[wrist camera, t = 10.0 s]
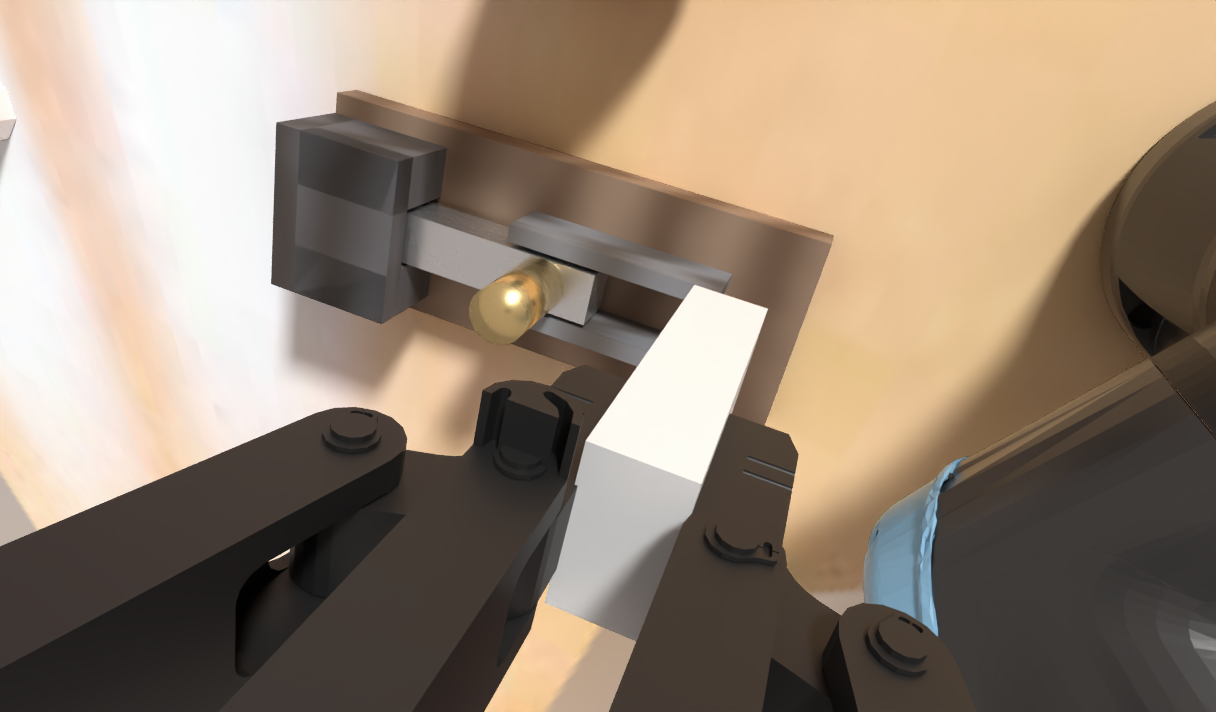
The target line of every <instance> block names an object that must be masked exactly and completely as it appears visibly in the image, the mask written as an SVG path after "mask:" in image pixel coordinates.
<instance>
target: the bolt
mask: <svg viewBox="0 0 1216 712" xmlns="http://www.w3.org/2000/svg"><path fill="white" fill-rule="evenodd" d="M508 232H509V227H506V226H503V225H500V224H497V223H494V222H491V221H488V220H485V219H482V218H479V217H476V216H473V215H470V214H467V213H464V212H461V211H457V210H454V209H451V208H448V207H445V206H442V205H439V204H436V203H433V202H430V201H429V202H427V203H424V204H422V205H419V206H417V207H414V208H411V209H409V210H407V218H406V227H405V236H404V245H403V253H402V263H405V264H408V265H411V266H414V267H416V268H419V269H422V270H425V271H428V272H431V273H434V274H437V275H440V276H442V277H445V278H448V279H451V280H454V281H457V282H460V283H463V284H466V285H468V286H471V287H474V288H477V289H480V291H478V292H477V293H476V294H475V295H474V296H473V298H472V300H471V302H470V305H469V317H470V321H471V324H472V326H473V328H474V329H475V331H476V332H477V333H478V334H479V335H480V336H481V337H482V338H483V339H485V340H486V341H488V342H490V343H493V344H497V345H507V344H510V343H512V342H514V341H516V340H517V339H518V338H519V337H520V336H521V335H523V334H524V333H525V332H526V331H527V330H528V329H529V328H531V327H532V326H533V325H534V324H535V323H536V322H537V321H539V320H540V319H541V318H542V317H543V316H544V315H545V314H546V313H549V314H552V315H555V316H558V317H561V318H564V319H567V320H569V321H572V322H575V323H578V324H581V325H584V324H585V323H586V322H587V321H588V320H589V319H590V318H591V317H592V316H593V315H594V314H595V313H596V312H597V311H598V310H599V309H600V307H601V303H602V299H603V294H604V290H605V286H606V282H607V278H608V274H605V273H602V272H599V271H596V270H593V269H590V268H587V267H583V266H580V265H577V264H574V263H571V262H568V261H565V260H562V259H559V258H556V257H553V256H550V255H547V254H544V253H541V252H538V251H535V250H532V249H529V248H526V247H523V246H520V245H517V244H514V243H511V242H508V241H507V237H508Z"/></svg>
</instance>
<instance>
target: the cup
mask: <svg viewBox="0 0 1216 712" xmlns="http://www.w3.org/2000/svg"><path fill="white" fill-rule="evenodd" d="M15 121H16V116H15V113H14V109H13V106H12V103H11V100H10V97H9V93H8V90H7V89H6V88H5V87H4V86H3V85H2V84H1V83H0V140H3V139H9V136H10V134H11V131H12V129H13V126H14V124H15Z"/></svg>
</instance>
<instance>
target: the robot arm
mask: <svg viewBox="0 0 1216 712" xmlns="http://www.w3.org/2000/svg"><path fill="white" fill-rule="evenodd" d="M1101 274H1102V281H1103V286H1104V290H1105V294H1106V297H1107V300H1108V303H1109V305H1110V307H1111V310H1112V312H1113V314H1114V315H1115V317H1116V319H1117V321H1118V322H1119V324H1120V325H1121V327H1122V328H1123V330H1124V331H1125V332H1126V333H1127V334H1128V336H1129V337H1130V338H1131V339H1132V341H1133V342H1134V343H1135V344H1136V345H1137V347H1138V348H1139V349H1140V350H1141V351H1142V352H1143V353H1144V354H1145V355H1146V356H1147V357H1148V358H1146V359H1145V360H1143V361H1141V362H1139V363H1137V364H1136V365H1134V366H1132V367H1130V368H1129V369H1127V370H1125V371H1123V372H1122V373H1120V374H1118V375H1116V376H1115V377H1113V378H1111V379H1109V380H1107V381H1106V382H1104V383H1102V384H1100V385H1099V386H1097V387H1095V388H1093V389H1092V390H1090V391H1088V392H1086V393H1085V394H1083V395H1081V396H1079V397H1077V398H1076V399H1074V400H1072V401H1070V402H1069V403H1067V404H1065V405H1063V406H1062V407H1060V408H1058V409H1056V410H1055V411H1053V412H1051V413H1049V414H1047V415H1046V416H1044V417H1042V418H1040V419H1039V420H1037V421H1035V422H1033V423H1031V424H1029V425H1027V426H1026V427H1024V428H1022V429H1020V430H1018V431H1016V432H1015V433H1013V434H1011V435H1009V436H1007V437H1005V438H1003V439H1002V440H1000V441H998V442H996V443H994V444H992V445H991V446H989V447H987V448H985V449H983V450H981V451H980V452H978V453H976V454H974V455H972V456H970V457H969V456H967V457H964V458H961V459H958V460H955V461H953V462H951V463H949V464H948V465H947V466H946V467H944V468H943V469H942V471H941V472H940V473H939V474H938V475H937V477H936V478H935V479H933V480H932V481H930V482H929V483H927V484H926V485H924V486H923V487H921V488H919V489H918V490H916V491H914V492H913V493H911V494H910V495H908V496H906V497H905V498H903V499H902V500H900V501H898V502H897V503H895V504H894V505H893V506H891V507H890V508H889V509H888V510H887V511H886V512H885V513H883V515H882V516H881V517H880V518H879V520H878V521H877V523H876V524H875V526H874V528H873V530H872V533H871V536H870V540H869V543H868V551H867V553H866V555H865V558H864V566H863V590H864V600H865V603H862V604H859V605H855V606H853V607H849V608H847V610H846V611H845V612H844V613H843V615H842V616H841V615H839V614H838V613H836V612H835V611H833V610H832V609H830V608H829V607H827V606H825V605H824V604H822V603H821V602H819V601H818V600H817V599H815V598H814V597H813V596H812V595H810V594H809V593H808V592H806V591H805V590H804V589H803V588H802V587H801V586H800V585H799V584H798V583H797V582H796V581H795V580H794V578H793V577H792V575H791V574H790V572H789V571H788V569H787V568H786V567H787V562H786V555H785V550H784V548H783V547H782V543H783V538H784V532H785V527H786V521H787V516H788V510H789V504H790V499H791V493H792V491H791V490H792V488H793V482H794V477H795V476H794V475H795V471H796V466H797V460H798V452H797V450H796V448H795V446H794V444H793V442H792V440H791V438H790V436H789V434H786V433H783V432H781V431H778V430H775V429H772V428H769V427H767V426H764V425H761V424H758V423H755V422H752V421H750V420H747V419H744V418H741V417H738V416H736V415H733V414H732V411H733V408H734V405H735V403H736V400H737V397H738V394H739V391H740V388H741V385H742V382H743V380H744V377H745V374H746V371H747V368H748V365H749V362H750V359H751V356H752V354H753V351H754V348H755V345H756V342H757V339H758V336H759V333H760V330H761V328H762V325H763V322H764V319H765V316H766V313H767V310H768V309H767V308H764V307H761V306H758V305H755V304H752V303H749V302H746V301H743V300H739V299H736V298H733V297H730V296H727V295H724V294H721V293H718V292H715V291H712V290H709V289H706V288H703V287H700V286H697V285H694V286H693V288H692V289H691V291H690V292H689V293H688V295H687V296H686V298H685V299H684V301H683V302H682V303H681V305H680V306H679V308H678V309H677V311H676V312H675V313H674V315H673V316H672V318H671V319H670V321H669V322H668V323H667V325H666V326H665V328H664V329H663V331H662V332H661V334H660V335H659V336H658V338H657V339H656V341H655V342H654V344H653V345H652V346H651V348H650V349H649V351H648V352H647V354H646V355H645V356H644V358H643V359H642V361H641V362H640V364H639V365H638V366H637V368H636V369H635V371H634V372H633V374H632V375H631V377H630V378H629V379H625V378H622V377H619V376H616V375H614V374H611V373H608V372H605V371H602V370H600V369H597V368H594V367H591V366H588V365H583V366H580V367H577V368H574V369H572V370H569V371H566V372H563V373H562V375H561V376H560V377H559V378H558V379H557V380H556V381H555V382H554V383H553V385H552V386H548V385H544V384H540V383H536V382H532V381H517V380H511V381H505V382H499V383H495V384H493V385H491V386H489V387H487V388H486V389H484V390H483V392H482V398H481V403H480V409H479V415H478V420H477V426H476V432H475V437H474V443H473V445H472V446H471V447H470V448H469V449H468V450H467V451H466V453H465V454H464V455H463V456H444V455H435V454H429V453H423V452H417V451H411V450H406V444H407V437H406V434H405V432H404V429H403V427H402V426H401V425H400V424H399V423H397V422H396V421H395V420H394V419H393V418H392V417H389V416H387V415H384V414H382V413H380V412H377V411H375V410H369V409H364V408H357V407H348V408H333V409H329V410H325V411H322V412H318V413H315V414H313V415H310V416H308V417H305V418H303V419H301V420H298V421H296V422H294V423H291V424H289V425H287V426H284V427H282V428H279V429H277V430H275V431H272V432H270V433H268V434H265V435H263V436H260V437H258V438H256V439H253V440H251V441H249V442H246V443H244V444H242V445H239V446H237V447H234V448H232V449H230V450H227V451H225V452H223V453H220V454H218V455H215V456H213V457H211V458H208V459H206V460H204V461H201V462H199V463H197V464H194V465H192V466H189V467H187V468H185V469H182V470H180V471H178V472H175V473H173V474H171V475H168V476H166V477H163V478H161V479H159V480H156V481H154V482H152V483H149V484H147V485H144V486H142V487H140V488H137V489H135V490H133V491H130V492H128V493H126V494H123V495H121V496H118V497H116V498H114V499H111V500H109V501H107V502H104V503H102V504H100V505H97V506H95V507H92V508H90V509H88V510H85V511H83V512H81V513H78V514H76V515H73V516H71V517H69V518H66V519H64V520H62V521H59V522H57V523H55V524H52V525H50V526H47V527H45V528H43V529H40V530H38V531H36V532H33V533H31V534H29V535H26V536H24V537H21V538H19V539H17V540H14V541H12V542H10V543H7V544H5V545H3V546H0V712H484V711H485V709H486V707H487V706H488V704H489V702H490V700H491V699H492V697H493V695H494V693H495V692H496V690H497V688H498V686H499V684H500V683H501V681H502V679H503V677H504V676H505V674H506V672H507V670H508V669H509V667H510V665H511V663H512V662H513V660H514V658H515V656H516V654H517V653H518V651H519V649H520V647H521V646H522V644H523V642H524V640H525V639H526V637H527V635H528V633H529V631H530V630H531V626H532V622H533V618H534V615H535V611H536V606H537V602H538V600H539V598H540V597H541V595H542V593H543V592H544V590H545V588H546V586H547V585H548V583H549V581H550V584H549V588H548V592H547V596H546V600H545V603H546V604H549V605H551V606H554V607H556V608H558V609H561V610H563V611H566V612H568V613H570V614H573V615H575V616H577V617H580V618H582V619H585V620H587V621H589V622H592V623H594V624H597V625H599V626H601V627H604V628H606V629H609V630H611V631H613V632H616V633H618V634H620V635H623V636H625V637H628V638H630V639H632V640H635V641H636V644H635V647H634V649H633V652H632V654H631V657H630V659H629V662H628V664H627V667H626V670H625V672H624V675H623V677H622V680H621V682H620V685H619V688H618V690H617V692H616V695H615V698H614V700H613V703H612V705H611V708H610V710H609V712H1216V437H1215V436H1216V101H1215V102H1214V103H1212V104H1210V105H1208V106H1206V107H1205V108H1203V109H1201V110H1200V111H1198V112H1196V113H1195V114H1193V115H1192V116H1191V117H1189V118H1188V119H1186V120H1185V121H1183V122H1182V123H1181V124H1179V125H1178V126H1177V127H1175V128H1174V129H1173V130H1172V131H1170V132H1169V133H1168V134H1167V135H1166V136H1165V137H1164V138H1162V139H1161V140H1160V141H1159V142H1158V143H1157V144H1156V145H1155V146H1154V147H1153V148H1152V149H1151V150H1150V151H1149V152H1148V153H1147V154H1146V156H1145V157H1144V158H1143V159H1142V160H1141V161H1140V163H1139V164H1138V165H1137V166H1136V168H1135V169H1134V170H1133V172H1132V173H1131V174H1130V176H1129V177H1128V179H1127V180H1126V182H1125V183H1124V185H1123V187H1122V189H1121V190H1120V192H1119V194H1118V196H1117V198H1116V200H1115V202H1114V204H1113V206H1112V209H1111V211H1110V214H1109V217H1108V220H1107V223H1106V226H1105V230H1104V235H1103V240H1102V247H1101ZM1154 364H1155V365H1156V366H1155V365H1154ZM1160 371H1161V372H1162V373H1163V374H1164V375H1165V376H1166V377H1167V378H1168V380H1169V381H1170V382H1171V383H1172V384H1173V385H1174V386H1175V388H1176V389H1177V390H1178V391H1179V392H1180V394H1181V395H1182V396H1183V397H1184V398H1185V400H1186V401H1187V402H1188V403H1189V404H1190V406H1191V407H1192V408H1193V409H1194V411H1195V412H1196V413H1197V414H1198V415H1199V417H1200V418H1201V419H1202V420H1203V421H1204V423H1205V424H1206V425H1207V426H1208V427H1209V429H1210V430H1211V431H1212V432H1213V434H1214V435H1215V436H1214V435H1213V434H1212V432H1211V431H1210V430H1209V429H1208V428H1207V426H1206V425H1205V424H1204V423H1203V422H1202V421H1201V419H1200V418H1199V417H1198V416H1197V415H1196V413H1195V412H1194V411H1193V410H1192V409H1191V407H1190V406H1189V405H1188V404H1187V403H1186V401H1185V400H1184V399H1183V398H1182V397H1181V395H1180V394H1179V393H1178V392H1177V391H1176V389H1175V388H1174V387H1173V386H1172V385H1171V383H1170V382H1169V381H1168V380H1167V379H1166V378H1165V376H1164V375H1163V374H1162V373H1161V372H1160ZM288 549H290V552H289V553H287V554H285V555H284V556H282V557H280V558H278V559H275V560H273V561H270V562H268V561H269V560H271V559H273V558H275V557H276V556H278V555H280V554H282V553H283V552H285V551H287V550H288Z"/></svg>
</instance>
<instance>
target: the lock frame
mask: <svg viewBox="0 0 1216 712" xmlns="http://www.w3.org/2000/svg"><path fill="white" fill-rule="evenodd" d="M429 201H430V202H433V203H436V204H439V205H442V206H445V207H448V208H451V209H454V210H457V211H461V212H464V213H467V214H470V215H473V216H476V217H479V218H482V219H485V220H488V221H491V222H494V223H497V224H500V225H503V226H506V227H509V232H508V237H507V241H508V242H511V243H514V244H517V245H520V246H523V247H526V248H529V249H532V250H535V251H538V252H541V253H544V254H547V255H550V256H553V257H556V258H559V259H562V260H565V261H568V262H571V263H574V264H577V265H580V266H583V267H587V268H590V269H593V270H596V271H599V272H602V273H605V274H608V278H607V282H606V286H605V290H604V294H603V299H602V303H601V307H600V309H599V310H598V311H597V312H596V313H595V314H594V315H593V316H592V317H591V318H590V319H589V320H588V321H587V322H586V323H585V324H584V325H581V324H578V323H575V322H572V321H569V320H567V319H564V318H561V317H558V316H555V315H552V314H549V313H546V314H545V315H544V316H543V317H542V318H541V319H540V320H539V321H537V322H536V323H535V324H534V325H533V326H532V327H531V328H529V329H528V330H527V331H526V332H525V333H524V334H523V335H521V336H520V337H519V338H518V339H517V340H516V341H514V342H512V343H511V344H514V345H516V346H519V347H522V348H525V349H528V350H530V351H533V352H536V353H539V354H542V355H544V356H547V357H550V358H553V359H556V360H558V361H561V362H564V363H567V364H570V365H572V366H575V367H580V366H583V365H588V366H591V367H594V368H597V369H600V370H602V371H605V372H608V373H611V374H614V375H616V376H619V377H622V378H625V379H629V378H630V377H631V375H632V374H633V372H634V371H635V369H636V368H637V366H638V365H639V364H640V362H641V361H642V359H643V358H644V356H645V355H646V354H647V352H648V351H649V349H650V348H651V346H652V345H653V344H654V342H655V341H656V339H657V338H658V336H659V335H660V334H661V332H662V331H663V329H664V328H665V326H666V325H667V323H668V322H669V321H670V319H671V318H672V316H673V315H674V313H675V312H676V311H677V309H678V308H679V306H680V305H681V303H682V302H683V301H684V299H685V298H686V296H687V295H688V293H689V292H690V291H691V289H692V288H693V286H694V285H697V286H700V287H703V288H706V289H709V290H712V291H715V292H718V293H721V294H724V295H727V296H730V297H733V298H736V299H739V300H743V301H746V302H749V303H752V304H755V305H758V306H761V307H764V308H767V309H768V310H767V313H766V316H765V319H764V322H763V325H762V328H761V330H760V333H759V336H758V339H757V342H756V345H755V348H754V351H753V354H752V356H751V359H750V362H749V365H748V368H747V371H746V374H745V377H744V380H743V382H742V385H741V388H740V391H739V394H738V397H737V400H736V403H735V405H734V408H733V411H732V414H733V415H736V416H738V417H741V418H744V419H747V420H750V421H752V422H755V423H758V424H761V425H765V422H766V420H767V417H768V414H769V412H770V409H771V406H772V404H773V401H774V398H775V396H776V393H777V390H778V388H779V385H780V382H781V379H782V377H783V374H784V371H785V369H786V366H787V363H788V361H789V358H790V355H791V353H792V350H793V347H794V345H795V342H796V339H797V336H798V334H799V331H800V328H801V326H802V323H803V320H804V318H805V315H806V312H807V310H808V307H809V304H810V302H811V299H812V296H813V293H814V291H815V288H816V285H817V283H818V280H819V277H820V275H821V272H822V269H823V267H824V264H825V261H826V259H827V256H828V253H829V250H830V248H831V245H832V241H833V236H834V235H830V234H827V233H824V232H820V231H817V230H814V229H811V228H807V227H804V226H801V225H797V224H794V223H791V222H788V221H784V220H781V219H778V218H775V217H771V216H768V215H765V214H761V213H758V212H755V211H752V210H748V209H745V208H742V207H738V206H735V205H732V204H729V203H725V202H722V201H719V200H715V199H712V198H709V197H706V196H702V195H699V194H696V193H693V192H689V191H686V190H683V189H679V188H676V187H673V186H670V185H666V184H663V183H660V182H656V181H653V180H650V179H647V178H643V177H640V176H637V175H633V174H630V173H627V172H624V171H620V170H617V169H614V168H611V167H607V166H604V165H601V164H597V163H594V162H591V161H588V160H584V159H581V158H578V157H574V156H571V155H568V154H565V153H561V152H558V151H555V150H551V149H548V148H545V147H542V146H538V145H535V144H532V143H529V142H525V141H522V140H519V139H515V138H512V137H509V136H506V135H502V134H499V133H496V132H492V131H489V130H486V129H483V128H479V127H476V126H473V125H470V124H466V123H463V122H460V121H456V120H453V119H450V118H447V117H443V116H440V115H437V114H433V113H430V112H427V111H424V110H420V109H417V108H414V107H410V106H407V105H404V104H401V103H397V102H394V101H391V100H388V99H384V98H381V97H378V96H374V95H371V94H368V93H365V92H361V91H358V90H354V91H346V92H338V93H337V103H336V113H332V114H326V115H320V116H314V117H308V118H301V119H295V120H289V121H283V122H277V123H276V153H275V184H274V215H273V246H272V278H271V284H273V285H276V286H278V287H281V288H284V289H287V290H289V291H292V292H295V293H298V294H300V295H303V296H306V297H309V298H311V299H314V300H317V301H320V302H322V303H325V304H328V305H331V306H333V307H336V308H339V309H342V310H344V311H347V312H350V313H353V314H355V315H358V316H361V317H363V318H366V319H369V320H372V321H374V322H377V323H380V324H383V323H384V322H386V321H388V320H389V319H391V318H392V317H394V316H396V315H397V314H399V313H401V312H402V311H404V310H406V309H407V308H409V307H410V308H413V309H416V310H418V311H421V312H424V313H427V314H430V315H432V316H435V317H438V318H441V319H444V320H446V321H449V322H452V323H455V324H458V325H460V326H463V327H466V328H469V329H472V330H474V331H475V329H474V328H473V326H472V324H471V321H470V317H469V305H470V302H471V300H472V298H473V296H474V295H475V294H476V293H477V292H478V291H480V289H477V288H474V287H471V286H468V285H466V284H463V283H460V282H457V281H454V280H451V279H448V278H445V277H442V276H440V275H437V274H434V273H431V272H428V271H425V270H422V269H419V268H416V267H414V266H411V265H408V264H405V263H402V253H403V245H404V236H405V227H406V218H407V210H409V209H411V208H414V207H417V206H419V205H422V204H424V203H427V202H429Z"/></svg>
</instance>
